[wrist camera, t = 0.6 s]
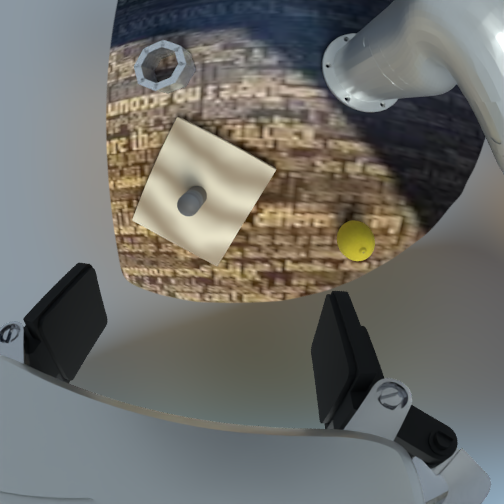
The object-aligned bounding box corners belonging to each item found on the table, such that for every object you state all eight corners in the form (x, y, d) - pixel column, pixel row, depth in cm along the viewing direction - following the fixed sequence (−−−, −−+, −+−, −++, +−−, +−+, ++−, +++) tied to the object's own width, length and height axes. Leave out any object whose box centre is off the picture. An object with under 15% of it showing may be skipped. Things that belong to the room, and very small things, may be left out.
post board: (180, 117, 36) (164, 117, 30) (275, 168, 39) (277, 176, 33) (136, 217, 43) (118, 232, 37) (218, 261, 46) (211, 283, 40)
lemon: (327, 239, 43) (337, 264, 36) (340, 208, 41) (354, 228, 34) (356, 249, 44) (371, 274, 36) (370, 220, 41) (388, 240, 34)
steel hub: (164, 44, 30) (151, 36, 26) (202, 58, 32) (194, 50, 27) (142, 82, 33) (127, 79, 29) (179, 98, 34) (168, 96, 30)
